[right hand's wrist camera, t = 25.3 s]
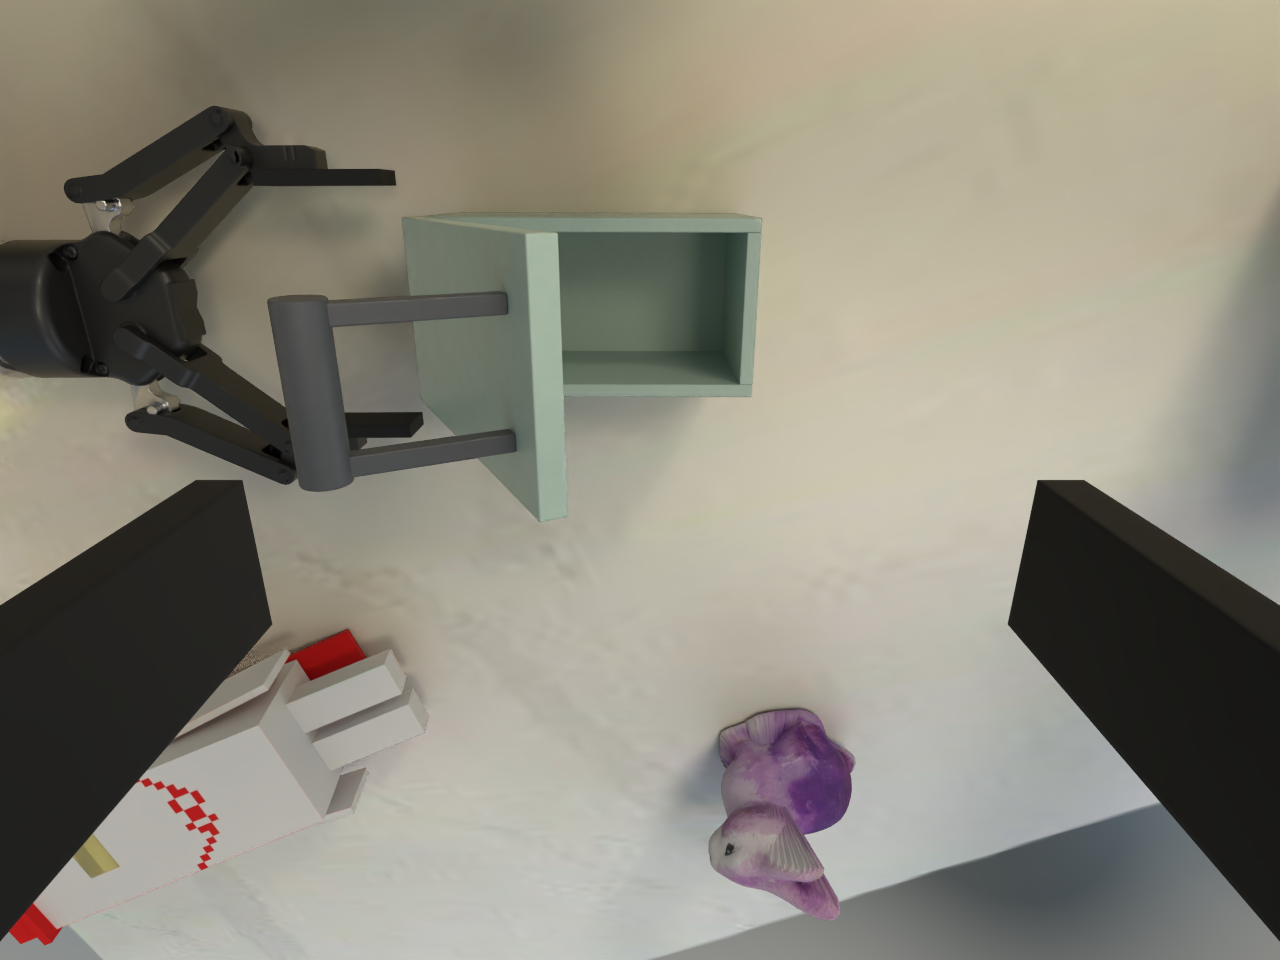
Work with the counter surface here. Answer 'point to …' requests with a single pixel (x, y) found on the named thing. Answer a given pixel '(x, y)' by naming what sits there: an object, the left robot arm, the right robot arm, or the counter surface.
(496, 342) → the lid
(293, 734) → the toy
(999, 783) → the counter surface
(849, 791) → the figurine
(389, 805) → the counter surface
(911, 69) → the counter surface
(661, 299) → the chest
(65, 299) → the left robot arm
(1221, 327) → the counter surface
